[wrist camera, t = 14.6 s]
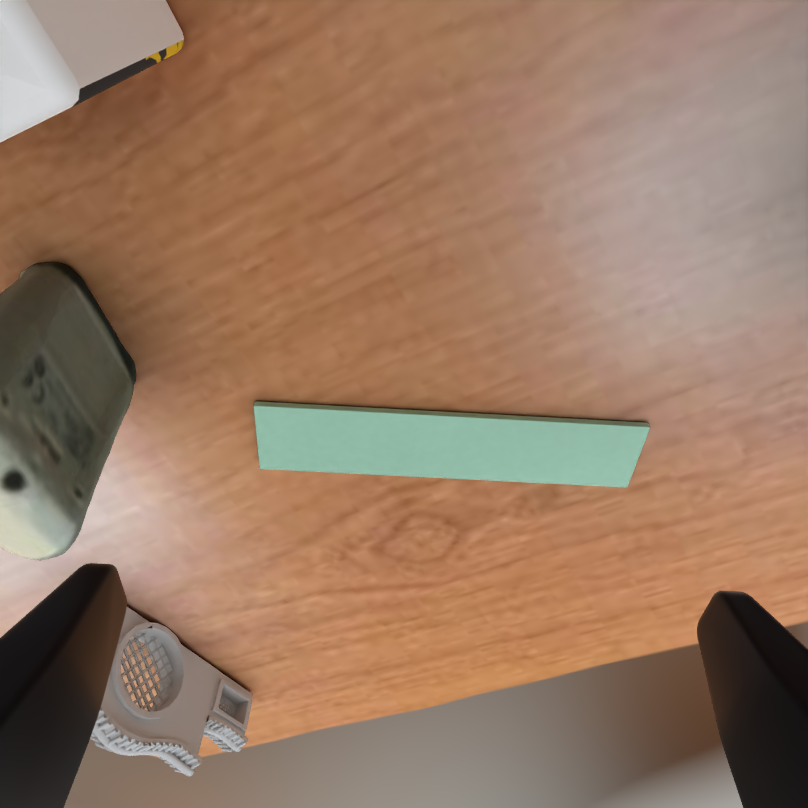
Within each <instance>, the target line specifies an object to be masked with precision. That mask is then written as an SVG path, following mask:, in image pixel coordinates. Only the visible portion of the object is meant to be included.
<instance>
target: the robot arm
mask: <svg viewBox="0 0 808 808" xmlns="http://www.w3.org/2000/svg"><path fill="white" fill-rule="evenodd" d="M126 608H127V600H126V595H125V592H124V589H123V586H122V583H121V580H120V577H119V574H118V571H117V569H116V567H115V566H113V565H111V564H94V563H90V564H86V565H83V566H82V567H80V568H79V569H78V570H77V571H75V572H74V573H73V574H72V575H71V576H70V577H69V578H68V579H66V580H65V581H64V582H63V583H62V584H61V585H60V586H59V587H57V588H56V589H55V590H54V591H53V592H52V593H51V594H49V595H48V596H47V597H46V598H45V599H44V600H43V601H42V602H40V603H39V604H38V605H37V606H36V607H35V608H34V609H33V610H31V611H30V612H29V613H28V614H27V615H26V616H25V617H24V618H22V619H21V620H20V621H19V622H18V623H17V624H16V625H15V626H13V627H12V628H11V629H10V630H9V631H8V632H7V633H5V634H4V635H3V636H2V637H1V638H0V808H64V805H65V802H66V800H67V797H68V795H69V792H70V789H71V787H72V784H73V781H74V779H75V776H76V774H77V771H78V768H79V766H80V763H81V761H82V758H83V755H84V753H85V750H86V747H87V745H88V742H89V740H90V737H91V734H92V732H93V729H94V726H95V723H96V720H97V718H98V715H99V711H100V708H101V704H102V701H103V697H104V694H105V690H106V686H107V682H108V678H109V675H110V671H111V667H112V663H113V659H114V656H115V652H116V648H117V644H118V641H119V637H120V633H121V629H122V625H123V622H124V618H125V614H126ZM697 636H698V641H699V646H700V650H701V655H702V659H703V664H704V668H705V673H706V677H707V682H708V686H709V691H710V695H711V699H712V704H713V709H714V713H715V718H716V722H717V726H718V730H719V734H720V737H721V741H722V744H723V747H724V751H725V754H726V757H727V759H728V763H729V766H730V769H731V772H732V775H733V777H734V781H735V783H736V787H737V790H738V793H739V796H740V799H741V802H742V805H743V808H808V649H807V648H806V647H805V646H804V645H803V644H802V643H801V642H800V641H799V640H798V639H796V638H795V637H794V636H793V635H792V634H791V633H790V632H789V631H788V630H787V629H786V628H785V627H783V626H782V625H781V624H780V623H779V622H778V621H777V620H776V619H775V618H774V617H773V616H772V615H771V614H769V613H768V612H767V611H766V610H765V609H764V608H763V607H762V606H761V605H760V604H759V603H758V602H757V601H755V600H754V599H753V598H752V597H751V596H749V595H748V594H746V593H744V592H736V591H719V592H717V593H716V594H715V595H714V596H713V597H712V599H711V601H710V603H709V604H708V606H707V608H706V609H705V611H704V613H703V615H702V616H701V618H700V620H699V622H698V626H697Z"/></svg>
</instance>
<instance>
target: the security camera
mask: <svg viewBox="0 0 808 808" xmlns="http://www.w3.org/2000/svg"><path fill="white" fill-rule="evenodd" d="M183 42H184V36H183V33H182V30H181V28H180V26H179V24H178V22H177V21H176V19H175V17H174V15H173V13H172V11H171V9H170V7H169V5H168V3H167V2H166V0H0V142H2V141H4V140H6V139H8V138H10V137H12V136H14V135H16V134H19V133H21V132H23V131H25V130H27V129H29V128H31V127H33V126H35V125H37V124H39V123H41V122H43V121H45V120H47V119H49V118H51V117H53V116H55V115H57V114H59V113H61V112H63V111H65V110H67V109H69V108H71V107H73V106H75V105H77V104H79V103H81V102H83V101H84V100H86V99H88V98H90V97H92V96H94V95H96V94H98V93H100V92H102V91H104V90H106V89H108V88H110V87H112V86H114V85H116V84H117V83H119V82H121V81H123V80H125V79H127V78H129V77H131V76H133V75H135V74H137V73H139V72H141V71H143V70H145V69H147V68H149V67H150V66H152V65H154V64H156V63H158V62H160V61H162V60H164V59H166V58H168V57H170V56H172V55H174V54H176V53H178V52H179V51H180V50H181V49H182V48H183Z"/></svg>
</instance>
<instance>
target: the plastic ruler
mask: <svg viewBox="0 0 808 808" xmlns="http://www.w3.org/2000/svg"><path fill="white" fill-rule="evenodd" d="M254 416H255V426H256V436H257V446H258V457H259V467H260V469H273V470H293V471H313V472H332V473H352V474H372V475H392V476H412V477H431V478H451V479H471V480H491V481H510V482H530V483H550V484H570V485H590V486H609V487H628V484H629V481H630V479H631V476H632V474H633V471H634V468H635V466H636V463H637V461H638V458H639V456H640V453H641V450H642V448H643V445H644V443H645V440H646V437H647V435H648V432H649V430H650V425H649V423H644V422H626V421H608V420H589V419H571V418H552V417H534V416H516V415H497V414H479V413H461V412H442V411H424V410H405V409H387V408H369V407H350V406H332V405H313V404H295V403H277V402H258V401H255V403H254Z"/></svg>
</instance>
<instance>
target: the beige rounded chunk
mask: <svg viewBox="0 0 808 808" xmlns="http://www.w3.org/2000/svg"><path fill="white" fill-rule="evenodd" d="M135 381H136V370H135V364H134V362H133V360H132V359H131V357H130V356H129V355H128V353H127V352H126V350H125V349H124V347H123V346H122V344H121V343H120V342H119V340H118V338H117V336H116V334H115V333H114V331H113V329H112V328H111V326H110V324H109V322H108V321H107V319H106V318H105V316H104V314H103V312H102V311H101V309H100V307H99V306H98V304H97V303H96V301H95V299H94V298H93V296H92V295H91V293H90V291H89V289H88V288H87V286H86V285H85V283H84V282H83V280H82V279H81V278H80V276H78V275H77V274H76V273H75V272H74V271H73V270H72V269H71V268H69V267H68V266H66V265H65V264H60V263H55V262H49V263H37V264H34V265H32V266H30V267H29V268H27V269H26V270H24V271H22V272H21V273H20V277H19V280H17V281H16V282H15V283H14V284H12V285H11V286H9V287H8V288H7V289H6V290H4V291H3V292H2V293H0V548H2V549H4V550H6V551H8V552H10V553H12V554H14V555H17V556H20V557H24V558H27V559H34V560H45V559H49V558H53V557H57V556H59V555H62V554H63V553H65V552H66V551H67V550H68V549H69V548H70V546H71V545H72V544H73V543H74V541H75V540H76V538H77V536H78V534H79V532H80V530H81V527H82V524H83V521H84V518H85V515H86V511H87V509H88V506H89V504H90V501H91V499H92V496H93V492H94V490H95V487H96V485H97V482H98V480H99V477H100V475H101V472H102V469H103V466H104V464H105V462H106V460H107V457H108V455H109V453H110V450H111V447H112V444H113V442H114V439H115V437H116V434H117V432H118V429H119V427H120V425H121V422H122V420H123V418H124V416H125V414H126V412H127V410H128V408H129V405H130V402H131V398H132V395H133V388H134V384H135Z"/></svg>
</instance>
